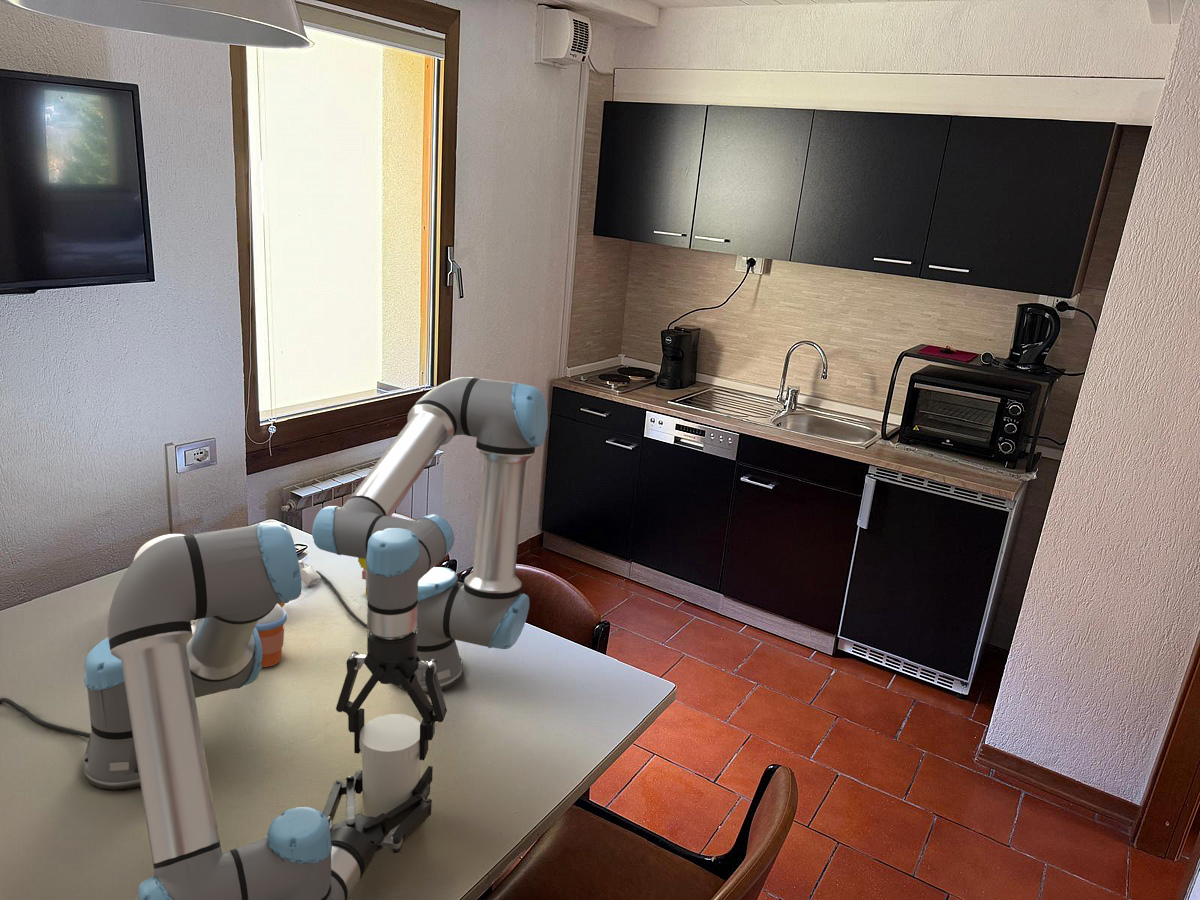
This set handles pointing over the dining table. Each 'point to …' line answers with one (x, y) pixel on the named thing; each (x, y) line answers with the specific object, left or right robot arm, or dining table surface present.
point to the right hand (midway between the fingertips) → (391, 751)
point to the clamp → (308, 574)
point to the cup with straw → (272, 635)
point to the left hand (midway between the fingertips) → (402, 767)
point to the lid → (390, 739)
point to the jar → (388, 785)
